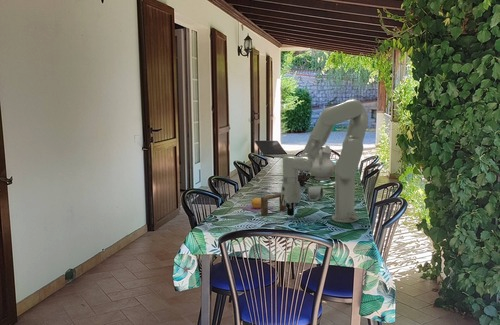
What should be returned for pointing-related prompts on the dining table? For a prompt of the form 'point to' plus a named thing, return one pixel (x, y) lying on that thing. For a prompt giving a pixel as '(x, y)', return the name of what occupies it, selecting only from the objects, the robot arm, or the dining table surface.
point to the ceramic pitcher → (323, 165)
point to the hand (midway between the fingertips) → (290, 215)
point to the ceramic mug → (315, 193)
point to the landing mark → (254, 208)
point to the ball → (256, 203)
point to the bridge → (265, 204)
